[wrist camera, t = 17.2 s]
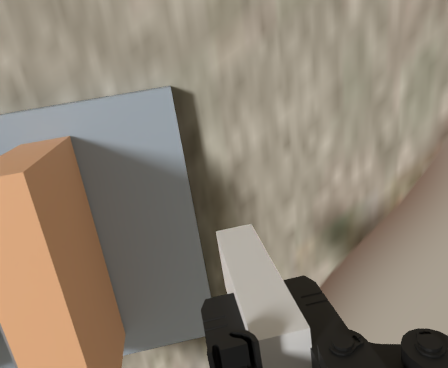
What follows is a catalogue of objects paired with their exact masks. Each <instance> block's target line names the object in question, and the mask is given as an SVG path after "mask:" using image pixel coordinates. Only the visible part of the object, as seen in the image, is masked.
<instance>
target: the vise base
mask: <svg viewBox="0 0 448 368" xmlns="http://www.w3.org/2000/svg"><path fill="white" fill-rule="evenodd" d="M66 136H70V138H71V142H72V146H73V149H74V153H75V156H76V160H77V163H78V167H79V170H80V174H81V178H82V181H83V185H84V188H85V192H86V195H87V199H88V202H89V206H90V209H91V213H92V217H93V220H94V224H95V227H96V231H97V234H98V238H99V241H100V245H101V249H102V252H103V256H104V259H105V263H106V266H107V270H108V273H109V277H110V281H111V284H112V288H113V291H114V295H115V298H116V302H117V305H118V309H119V313H120V316H121V320H122V323H123V327H124V330H125V334H126V335H125V343H124V351H123V356H124V355H128V354H132V353H136V352H140V351H145V350H149V349H153V348H157V347H162V346H166V345H170V344H174V343H179V342H183V341H187V340H191V339H196V338H200V337H204V336H205V332H204V326H203V320H202V315H201V308H202V306H203V303H204V301H205V299H208V298H211V295H210V289H209V284H208V279H207V274H206V269H205V263H204V258H203V253H202V248H201V243H200V237H199V232H198V227H197V222H196V217H195V211H194V206H193V201H192V196H191V191H190V185H189V180H188V175H187V170H186V165H185V159H184V154H183V149H182V144H181V139H180V133H179V128H178V123H177V118H176V113H175V107H174V102H173V97H172V92H171V87H170V86H165V87H159V88H154V89H148V90H142V91H136V92H130V93H124V94H118V95H112V96H106V97H100V98H94V99H88V100H82V101H77V102H71V103H65V104H59V105H53V106H47V107H41V108H35V109H29V110H23V111H17V112H11V113H5V114H0V156H1V155H2V154H4V153H6V152H8V151H10V150H11V149H13V148H15V147H17V146H18V145H21V144H26V143H32V142H38V141H43V140H49V139H54V138H60V137H66ZM0 368H15V365H14V363H13V360H12V358H11V355H10V353H9V350H8V348H7V345H6V343H5V340H4V338H3V335H2V333H1V330H0Z"/></svg>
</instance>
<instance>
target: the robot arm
mask: <svg viewBox="0 0 448 368" xmlns="http://www.w3.org/2000/svg"><path fill="white" fill-rule="evenodd" d="M216 236H217V241H218V247H219V253H220V259H221V264H222V270H223V276H224V282H225V287H226V291H227V294H226V295H222V296H217V297H213V298H208V299H205V301H204V303H203V306H202V308H201V315H202V320H203V326H204V332H205V338H206V343H207V356H208V361H209V366H210V368H448V336H447V335H445V334H443V333H441V332H439V331H435V330H431V329H414V330H411V331H408V332H407V333H406V334H405V335H403V338H402V341H401V344H375V343H370V342H368V341H367V340H366V339H365V338H364V337H363V336H362V335H361V334H359V333H357V332H355V331H352V330H349V329H348V328H347V326H346V325H345V324H344V322H343V321H342V319H341V318H340V316H339V315H338V314H337V312H336V311H335V309H334V308H333V306H332V305H331V304H330V302H329V301H328V299H327V298H326V297H325V295H324V294H323V293H322V291H321V290H320V288H319V286H318V285H317V284H316V282H314V281H313V280H311V279H309V278H308V277H306V276H300V277H296V278H291V279H287V280H283V279H282V277H281V276H280V274H279V272H278V270H277V268H276V267H275V265H274V263H273V261H272V260H271V258H270V256H269V254H268V253H267V251H266V249H265V247H264V245H263V244H262V242H261V240H260V238H259V237H258V235H257V233H256V231H255V229H254V228H253V226H252V224H248V225H243V226H238V227H234V228H229V229H224V230H219V231H216Z"/></svg>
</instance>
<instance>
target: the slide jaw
mask: <svg viewBox="0 0 448 368" xmlns="http://www.w3.org/2000/svg"><path fill="white" fill-rule="evenodd" d="M0 330H1V333H2V335H3V338H4V340H5V343H6V345H7V348H8V350H9V353H10V355H11V358H12V360H13V363H14V365H15V368H121V366H122V359H123V351H124V343H125V335H126V334H125V330H124V327H123V323H122V320H121V316H120V313H119V309H118V305H117V302H116V298H115V295H114V291H113V288H112V284H111V281H110V277H109V273H108V270H107V266H106V263H105V259H104V256H103V252H102V249H101V245H100V241H99V238H98V234H97V231H96V227H95V224H94V220H93V217H92V213H91V209H90V206H89V202H88V199H87V195H86V192H85V188H84V185H83V181H82V178H81V174H80V170H79V167H78V163H77V160H76V156H75V153H74V149H73V146H72V142H71V138H70V136H66V137H60V138H54V139H49V140H43V141H38V142H32V143H26V144H21V145H18V146H17V147H15V148H13V149H11V150H10V151H8V152H6V153H4V154H2V155H1V156H0Z"/></svg>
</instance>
